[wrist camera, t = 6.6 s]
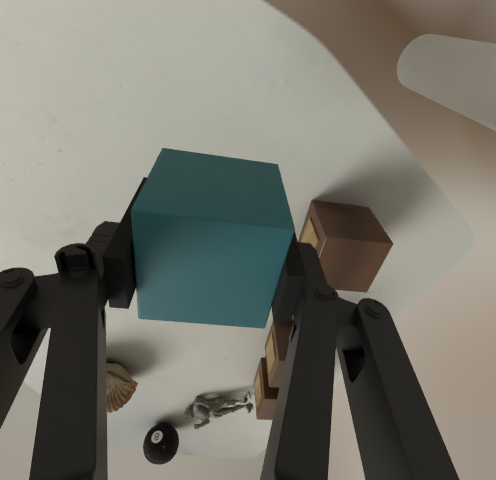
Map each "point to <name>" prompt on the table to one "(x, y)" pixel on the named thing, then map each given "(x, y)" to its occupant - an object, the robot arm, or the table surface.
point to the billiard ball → (161, 444)
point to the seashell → (118, 386)
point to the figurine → (214, 409)
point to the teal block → (210, 239)
